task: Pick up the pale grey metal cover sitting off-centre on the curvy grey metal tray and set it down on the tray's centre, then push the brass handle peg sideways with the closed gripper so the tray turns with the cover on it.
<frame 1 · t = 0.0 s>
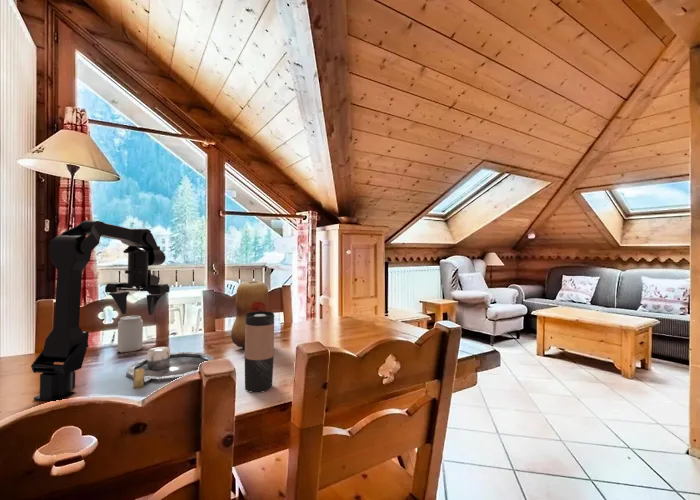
hand: (137, 314, 115), 15 cm above the table, tool pointing down, fingers open, 9 cm apart
can: (130, 351, 123), on the table
cover: (158, 366, 107), point 1 cm above the table, touching curvy grey metal tray
travel mug: (258, 388, 95), on the table
butternut squash: (250, 348, 130), on the table
curvy grey metal tray: (168, 363, 104), point 3 cm above the table, hinge at 0.0°, touching cover
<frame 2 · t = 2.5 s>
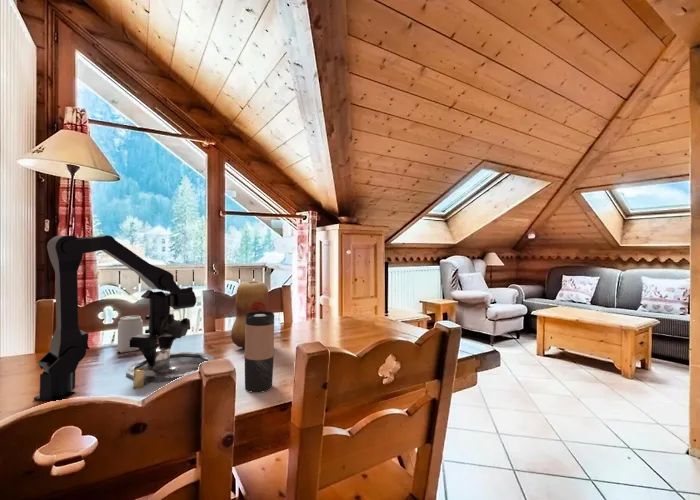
hand: (158, 362, 107), 2 cm above the table, tool pointing down, fingers closed on cover, 6 cm apart
cover: (158, 366, 107), point 1 cm above the table, touching gripper, curvy grey metal tray
everything else where it was.
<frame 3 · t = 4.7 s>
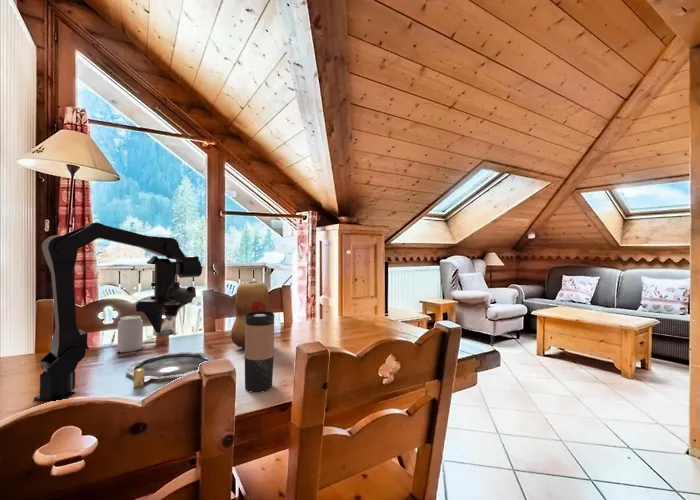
hand: (164, 330, 106), 12 cm above the table, tool pointing down, fingers closed on cover, 6 cm apart
cover: (164, 333, 107), point 11 cm above the table, touching gripper
curvy grey metal tray: (168, 363, 104), point 3 cm above the table, hinge at 0.0°
everything else where it was.
when the fingers open (3 cm above the table, at t = 7.1 s): cover drops 1 cm, resting on curvy grey metal tray.
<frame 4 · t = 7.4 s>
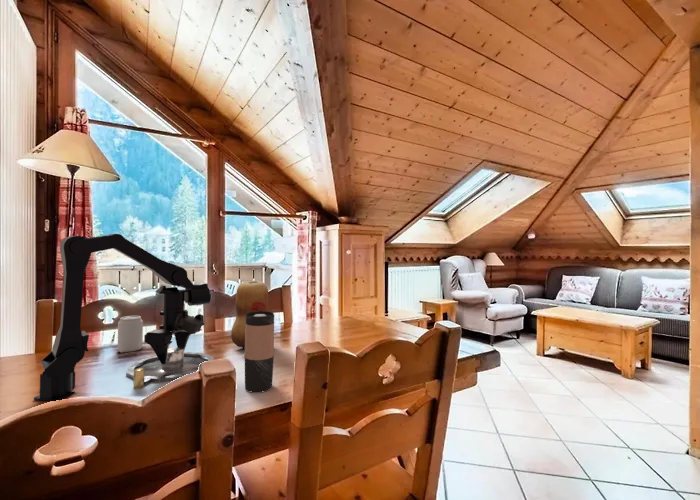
hand: (172, 358, 106), 3 cm above the table, tool pointing down, fingers open, 9 cm apart
cover: (172, 366, 106), point 1 cm above the table, touching curvy grey metal tray
curvy grey metal tray: (168, 363, 104), point 3 cm above the table, hinge at 0.0°, touching cover
everything else where it was.
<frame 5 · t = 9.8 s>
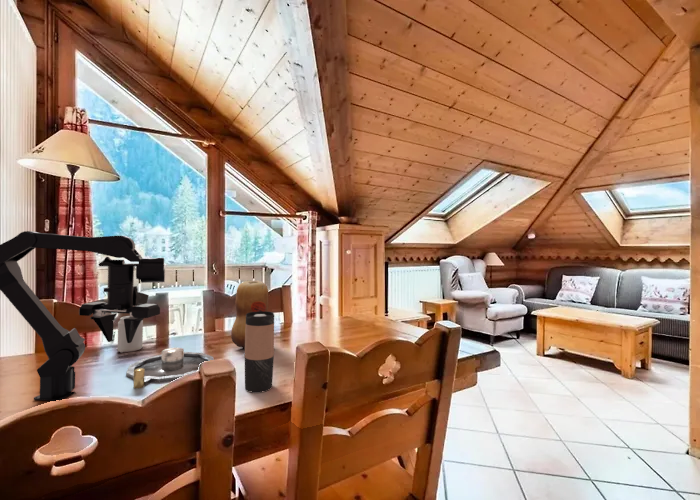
hand: (119, 342, 92), 12 cm above the table, tool pointing down, fingers open, 5 cm apart
nothing on the table moved.
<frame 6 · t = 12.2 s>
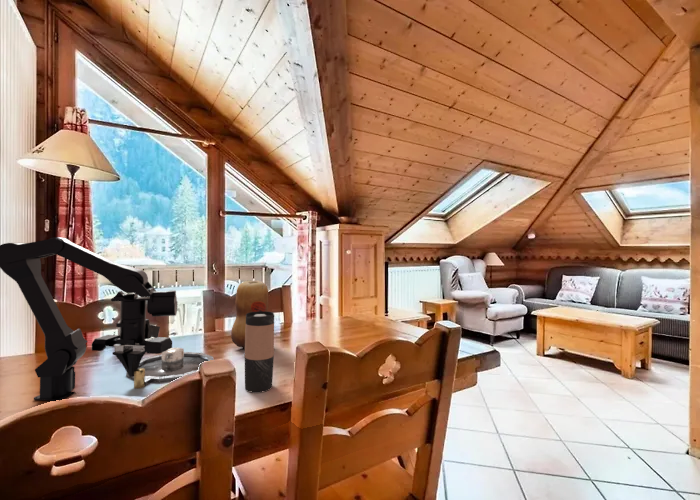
hand: (132, 376, 92), 3 cm above the table, tool pointing down, fingers closed
curvy grey metal tray: (168, 363, 104), point 3 cm above the table, hinge at 0.5°, touching cover, gripper
everything else where it was.
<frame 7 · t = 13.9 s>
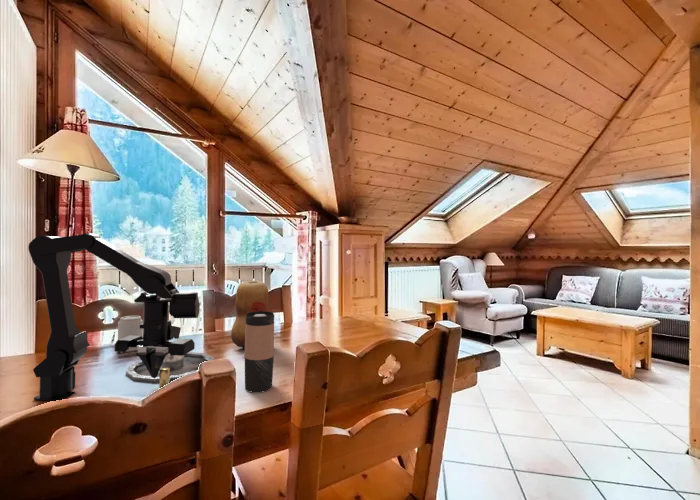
hand: (154, 377, 92), 3 cm above the table, tool pointing down, fingers closed
curvy grey metal tray: (171, 363, 104), point 3 cm above the table, hinge at 24.3°, touching cover, gripper
everything else where it was.
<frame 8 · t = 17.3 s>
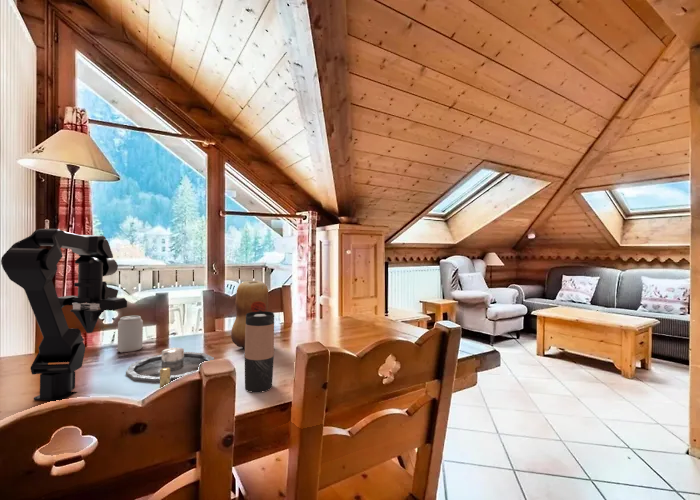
hand: (89, 332, 101), 12 cm above the table, tool pointing down, fingers closed
curvy grey metal tray: (171, 363, 104), point 3 cm above the table, hinge at 24.7°, touching cover
everything else where it was.
at the end: cover 0.1 cm from the curvy grey metal tray (horizontally); cover tilted 0°; curvy grey metal tray at +25° (first picture: +0°) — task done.
